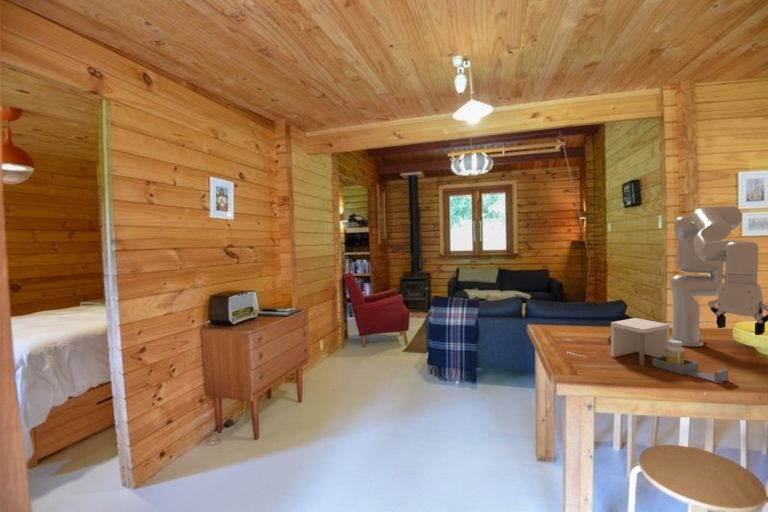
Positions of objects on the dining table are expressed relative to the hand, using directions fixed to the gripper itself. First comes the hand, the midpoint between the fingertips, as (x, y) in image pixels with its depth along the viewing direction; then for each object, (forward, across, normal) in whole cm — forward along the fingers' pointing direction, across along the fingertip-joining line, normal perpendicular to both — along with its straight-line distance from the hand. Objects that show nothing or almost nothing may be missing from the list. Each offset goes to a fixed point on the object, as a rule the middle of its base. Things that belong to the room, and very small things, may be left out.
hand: (739, 331), depth 119 cm
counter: (+19, -32, -1) cm, 37 cm away
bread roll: (+19, -47, +10) cm, 52 cm away
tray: (+19, -14, 0) cm, 23 cm away
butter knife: (+19, -40, -19) cm, 48 cm away
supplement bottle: (+18, -19, 0) cm, 26 cm away
